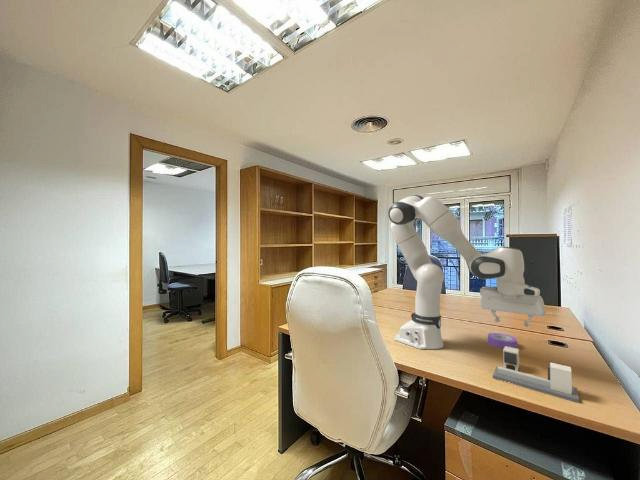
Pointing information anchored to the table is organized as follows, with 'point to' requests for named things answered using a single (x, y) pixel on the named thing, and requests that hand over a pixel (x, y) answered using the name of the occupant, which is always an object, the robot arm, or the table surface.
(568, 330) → the table surface
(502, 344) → the masking tape
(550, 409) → the table surface
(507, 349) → the block
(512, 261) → the robot arm
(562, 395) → the rail
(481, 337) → the table surface
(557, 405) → the table surface
